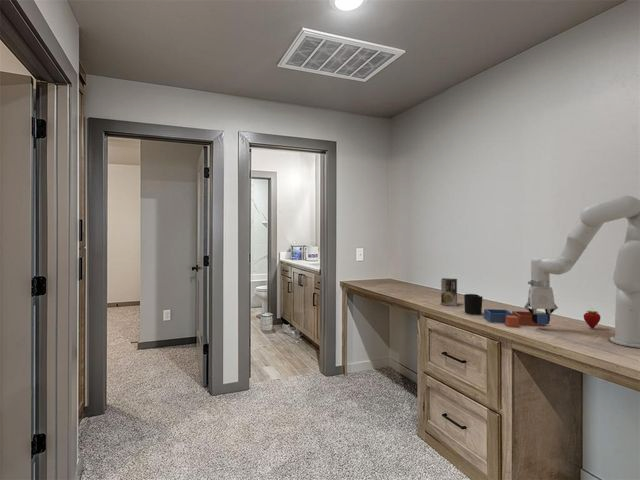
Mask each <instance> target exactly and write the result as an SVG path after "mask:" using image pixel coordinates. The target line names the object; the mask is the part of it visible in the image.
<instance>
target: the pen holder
mask: <svg viewBox="0 0 640 480" xmlns="http://www.w3.org/2000/svg"><path fill="white" fill-rule="evenodd" d="M463 296H464V297H463V299H464V301H463V303H464V304H463V305H464V313H465V314H467V315H473V316H474V315H475V316H477V315H478V316H479V315H481V314H482V311H483V295H482V296H480V295H479V294H476V293H465V294H464V295H463Z"/></svg>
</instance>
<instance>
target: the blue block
mask: <svg viewBox="0 0 640 480" xmlns="http://www.w3.org/2000/svg"><path fill="white" fill-rule="evenodd" d="M536 315H537V324H544V325H549V324H548V314H546V312H536Z"/></svg>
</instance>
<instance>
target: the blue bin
mask: <svg viewBox="0 0 640 480" xmlns="http://www.w3.org/2000/svg"><path fill="white" fill-rule="evenodd" d="M506 315H509V316H514V314H512V312H511V311H509V310H508V309H500V308H499V309H496V308H484V309H483V318H484V319H485V320H487V321H488V322H489V323H497V324H498V323H499V324H500V323H501V324H505V319H506Z"/></svg>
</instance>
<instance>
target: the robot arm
mask: <svg viewBox="0 0 640 480" xmlns="http://www.w3.org/2000/svg"><path fill="white" fill-rule="evenodd" d="M620 219H626V220H627V227H626V232H625V233H626V234H625V237H624V242H623V243H622V245H620V247H619V249H618V250H617V251H618V252H617V256H616V262H615V265H614V272H613V278H612V280H613V283H614V285H615V286H616V287H615V308H614V309H615V312H614V314H615V315H614V316H615V317H614V336H611V337H609V341H610V342H611V343H613V344H616V345H620V346H624V347H630V348H638V349H640V199H639V198H636V197H635V196H632V195H621V196H617V197H613V198H610V199H607V200H604V201H601V202H597V203H593V204H590V205H587V206H584V208H582V209H581V211H580V212H579V219H578V220H577V221H576V223H575V224H574V226H573V227H572V229H571V230H570V231H569V232H568V234H567V236H566V242H565V245H564V246H563V248H562V250H561V251H560V253H559V254H558V256H557V257H554V258H547V257H532V258H531V260H530V281H527V285H530V286H529V289H528V294H527V302H526V303H525V304H524V305H523V308H524V309H526V310H527V312H531V313H532V321H533V322H534V323H537V315H536V313H537V310H544V313H545V314H548V324H547V325H549V324H550V322H551V315H552V314H553V313H554V311H556V310H558V309H559V308H558V306H557V304H556V302H555V295H554V291H553V287H552V286H551V282H550V280H551V276H550V274H551V275H556V276H558V275H563V274H566V273H568V272H570V271H571V270H572V268H573V267H574V266H575V265H576V263H577V262H578V260H579V259H580V257H581V256H582V254H583V253H584V252H585V250H586V249H587V247H588V246H589V244H590V243H591V241H592V240H593V238H594V237H595V236H596V234H597V233H598V232H599V231H600V229H601V228H602V226H603V225H604V224H605V223H609V222H612V221H613V222H614V221H617V220H620Z"/></svg>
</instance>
